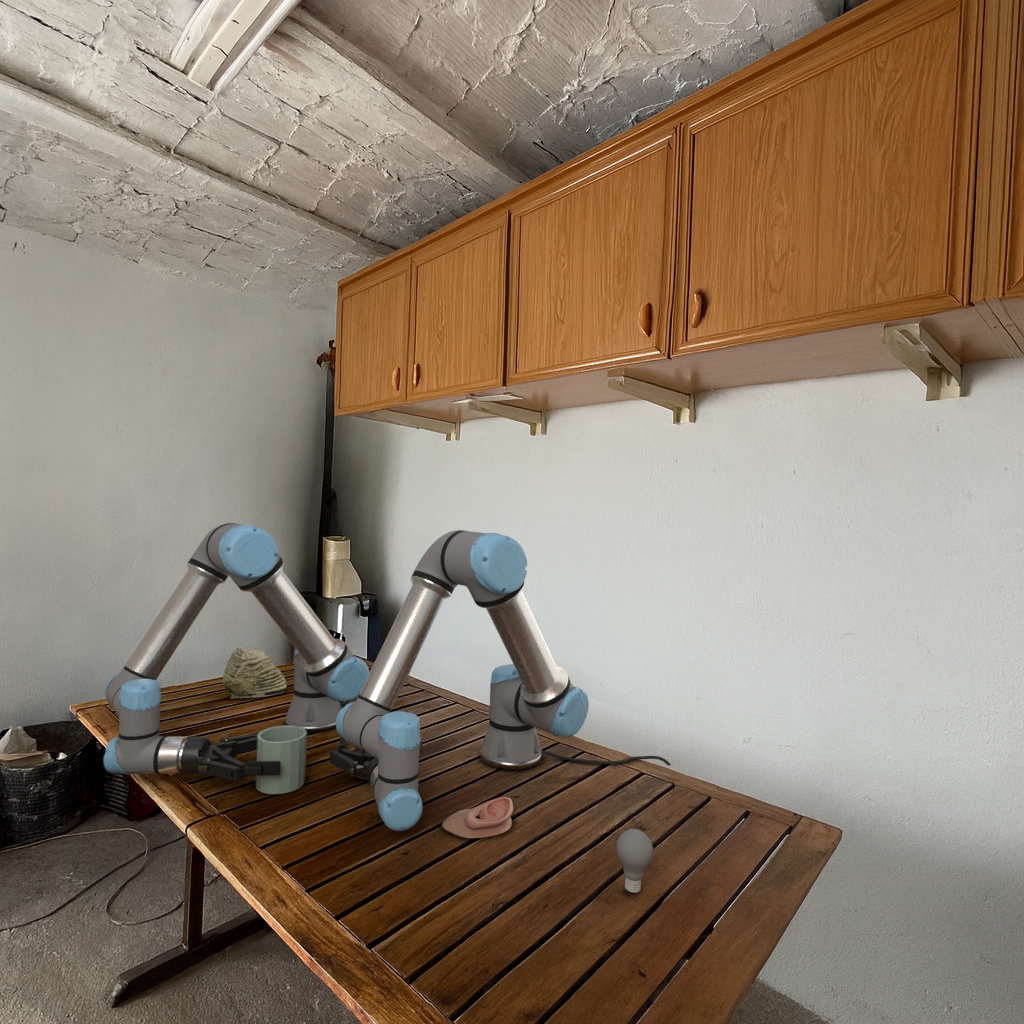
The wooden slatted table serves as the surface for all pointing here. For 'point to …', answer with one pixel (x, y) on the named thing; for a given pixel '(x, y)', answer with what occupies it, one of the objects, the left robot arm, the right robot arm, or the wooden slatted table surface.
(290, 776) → the pot
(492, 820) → the anatomical model
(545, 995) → the wooden slatted table surface
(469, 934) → the wooden slatted table surface
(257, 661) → the fossil
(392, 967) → the wooden slatted table surface
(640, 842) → the light bulb
